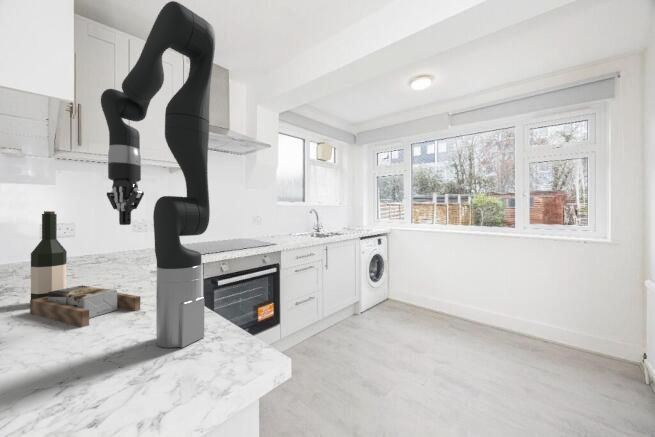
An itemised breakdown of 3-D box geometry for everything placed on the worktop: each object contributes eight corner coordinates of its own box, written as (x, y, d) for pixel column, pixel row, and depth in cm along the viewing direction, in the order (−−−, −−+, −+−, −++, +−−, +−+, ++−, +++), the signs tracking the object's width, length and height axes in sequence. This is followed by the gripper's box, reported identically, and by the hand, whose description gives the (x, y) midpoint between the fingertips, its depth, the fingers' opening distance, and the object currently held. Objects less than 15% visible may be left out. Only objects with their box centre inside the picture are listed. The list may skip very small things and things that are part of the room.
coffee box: (83, 297, 76) (46, 291, 82) (83, 320, 77) (46, 313, 82) (117, 289, 85) (82, 284, 90) (118, 310, 85) (82, 304, 90)
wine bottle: (32, 309, 86) (33, 211, 86) (28, 303, 91) (28, 211, 91) (69, 302, 92) (69, 211, 92) (63, 298, 97) (63, 211, 97)
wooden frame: (140, 309, 86) (140, 296, 86) (82, 327, 72) (82, 311, 72) (89, 299, 96) (89, 288, 96) (30, 313, 82) (30, 299, 82)
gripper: (153, 164, 81) (153, 224, 80) (123, 167, 85) (123, 224, 85) (126, 159, 74) (126, 225, 74) (95, 163, 79) (95, 225, 78)
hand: (125, 224), depth 79 cm, fingers closed
